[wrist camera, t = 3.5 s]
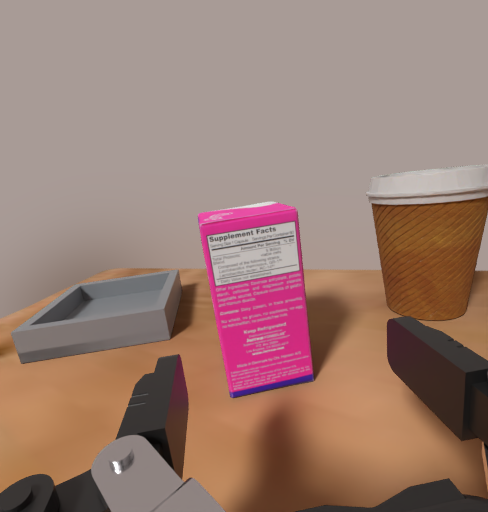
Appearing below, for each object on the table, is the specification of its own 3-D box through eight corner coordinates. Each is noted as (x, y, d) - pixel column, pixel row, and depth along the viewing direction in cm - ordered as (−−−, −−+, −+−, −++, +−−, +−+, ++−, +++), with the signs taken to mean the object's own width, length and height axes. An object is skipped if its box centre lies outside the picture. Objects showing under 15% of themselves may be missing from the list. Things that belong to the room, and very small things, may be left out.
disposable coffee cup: (356, 318, 27) (351, 181, 25) (380, 283, 35) (379, 174, 32) (493, 340, 22) (507, 166, 19) (487, 292, 29) (497, 162, 26)
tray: (182, 291, 41) (178, 269, 40) (170, 339, 28) (164, 308, 27) (80, 306, 40) (75, 284, 39) (21, 363, 27) (10, 332, 26)
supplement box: (219, 353, 25) (196, 211, 22) (290, 339, 25) (277, 200, 23) (226, 402, 19) (197, 219, 16) (317, 383, 20) (304, 204, 17)
